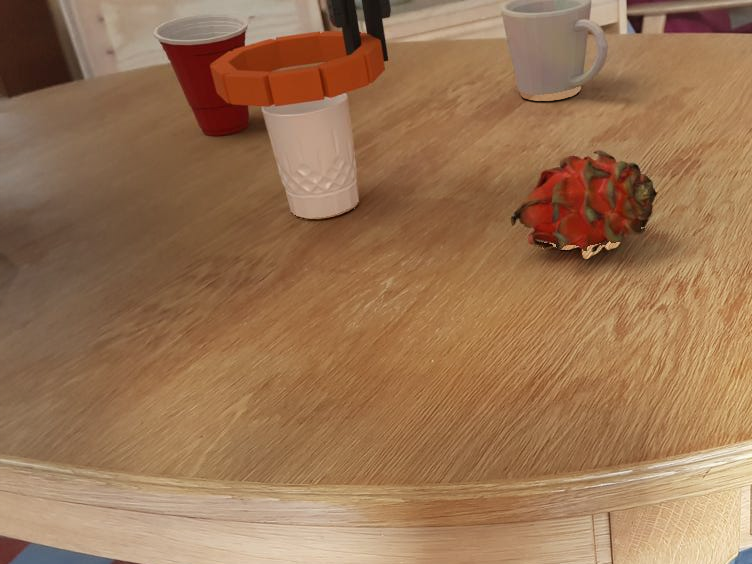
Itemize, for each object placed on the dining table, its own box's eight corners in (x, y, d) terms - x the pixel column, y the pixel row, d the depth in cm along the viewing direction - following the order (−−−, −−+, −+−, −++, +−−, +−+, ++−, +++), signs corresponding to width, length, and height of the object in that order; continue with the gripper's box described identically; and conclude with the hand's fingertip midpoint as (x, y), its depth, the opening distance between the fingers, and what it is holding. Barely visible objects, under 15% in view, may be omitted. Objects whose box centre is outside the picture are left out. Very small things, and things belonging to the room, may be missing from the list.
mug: (553, 75, 121) (549, -11, 115) (638, 95, 111) (639, 1, 105) (490, 96, 116) (482, 7, 110) (573, 119, 106) (570, 22, 100)
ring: (187, 92, 86) (179, 64, 84) (322, 51, 93) (317, 24, 92) (276, 117, 77) (269, 86, 75) (417, 68, 84) (413, 39, 83)
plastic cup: (210, 149, 110) (180, 39, 103) (166, 133, 117) (136, 28, 109) (288, 123, 115) (265, 16, 108) (242, 109, 122) (217, 8, 115)
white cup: (275, 224, 90) (249, 117, 84) (298, 193, 96) (276, 90, 90) (354, 221, 88) (334, 112, 82) (374, 189, 95) (356, 85, 88)
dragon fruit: (668, 261, 79) (528, 296, 80) (645, 175, 82) (509, 210, 83) (671, 207, 71) (515, 247, 72) (645, 113, 73) (495, 153, 75)
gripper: (234, -257, 67) (304, 87, 82) (421, -278, 72) (456, 52, 86) (211, -252, 73) (280, 69, 87) (386, -272, 77) (425, 38, 92)
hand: (367, 60), depth 87 cm, fingers closed on ring, 2 cm apart
